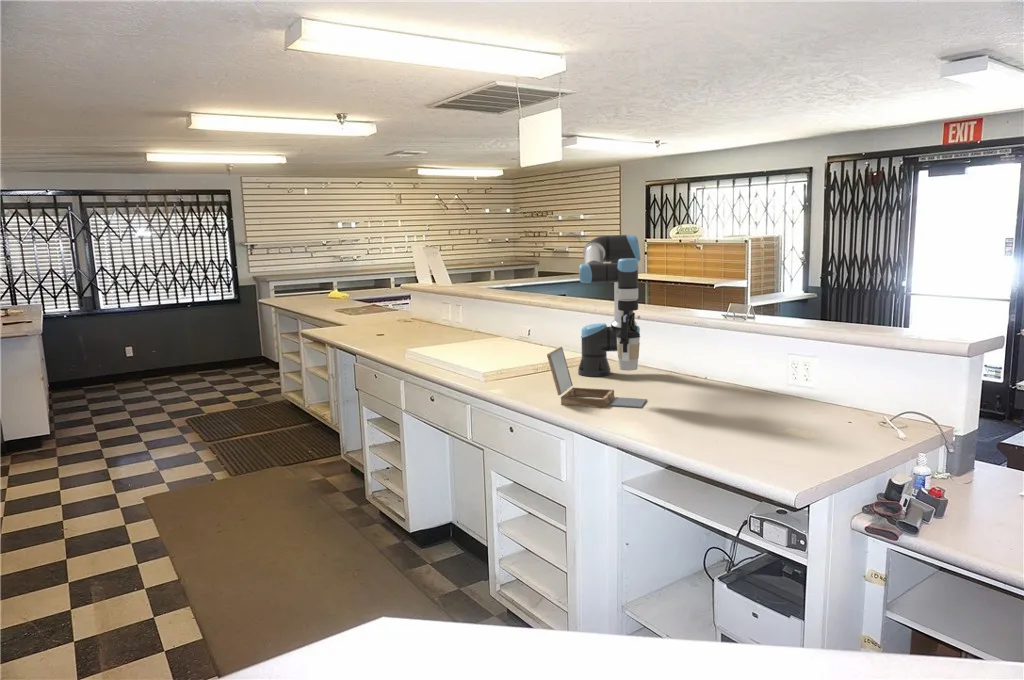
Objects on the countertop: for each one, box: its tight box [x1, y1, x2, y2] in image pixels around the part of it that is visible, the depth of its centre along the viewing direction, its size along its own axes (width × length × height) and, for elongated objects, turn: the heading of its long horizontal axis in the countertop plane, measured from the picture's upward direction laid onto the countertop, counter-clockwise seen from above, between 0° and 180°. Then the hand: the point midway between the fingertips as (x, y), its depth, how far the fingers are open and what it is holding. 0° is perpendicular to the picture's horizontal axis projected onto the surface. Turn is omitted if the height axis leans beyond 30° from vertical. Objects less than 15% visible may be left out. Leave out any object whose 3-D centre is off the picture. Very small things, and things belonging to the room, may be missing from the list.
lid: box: [546, 346, 573, 396], centre depth 263 cm, size 17×17×1 cm
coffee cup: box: [616, 329, 641, 372], centre depth 252 cm, size 9×9×15 cm
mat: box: [609, 396, 648, 409], centre depth 255 cm, size 12×12×1 cm
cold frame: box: [560, 387, 615, 408], centre depth 261 cm, size 17×17×3 cm
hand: (628, 358), depth 252 cm, fingers closed on coffee cup, 9 cm apart
